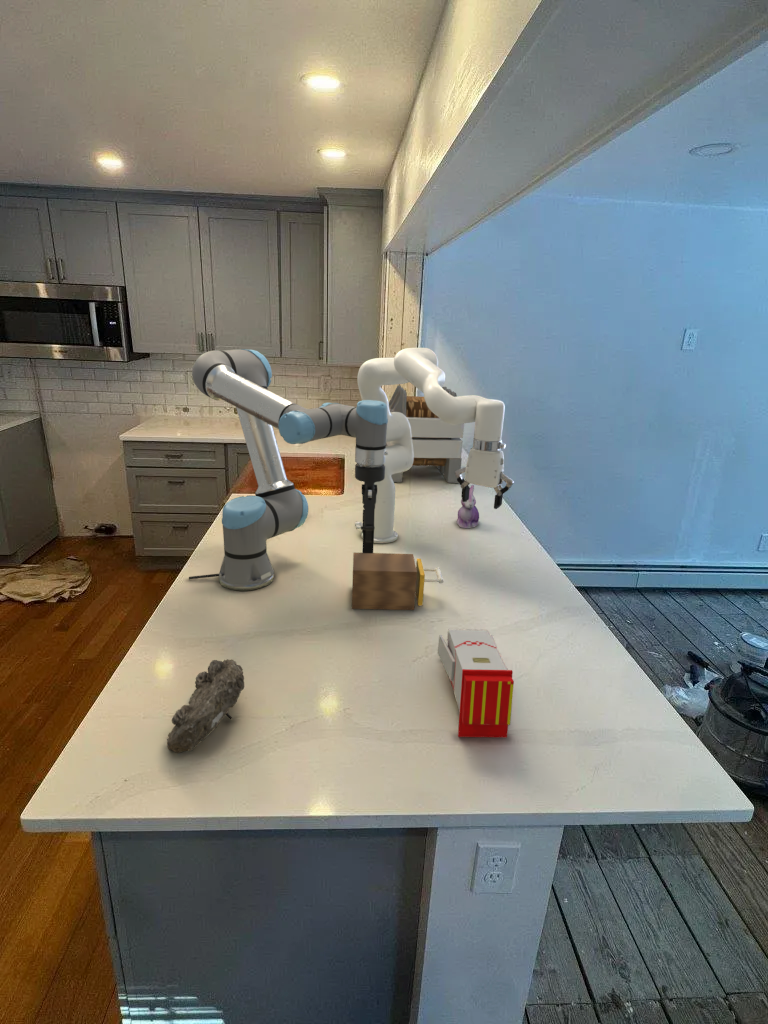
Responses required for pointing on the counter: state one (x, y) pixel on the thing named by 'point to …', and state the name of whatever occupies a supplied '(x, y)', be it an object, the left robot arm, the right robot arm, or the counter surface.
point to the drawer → (424, 580)
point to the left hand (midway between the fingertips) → (367, 542)
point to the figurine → (468, 512)
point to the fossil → (206, 705)
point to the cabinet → (383, 581)
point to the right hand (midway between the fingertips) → (480, 504)
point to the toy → (478, 682)
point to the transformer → (429, 435)
